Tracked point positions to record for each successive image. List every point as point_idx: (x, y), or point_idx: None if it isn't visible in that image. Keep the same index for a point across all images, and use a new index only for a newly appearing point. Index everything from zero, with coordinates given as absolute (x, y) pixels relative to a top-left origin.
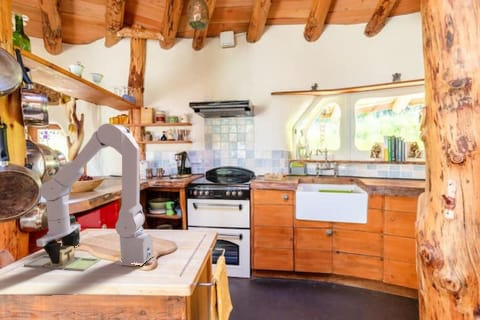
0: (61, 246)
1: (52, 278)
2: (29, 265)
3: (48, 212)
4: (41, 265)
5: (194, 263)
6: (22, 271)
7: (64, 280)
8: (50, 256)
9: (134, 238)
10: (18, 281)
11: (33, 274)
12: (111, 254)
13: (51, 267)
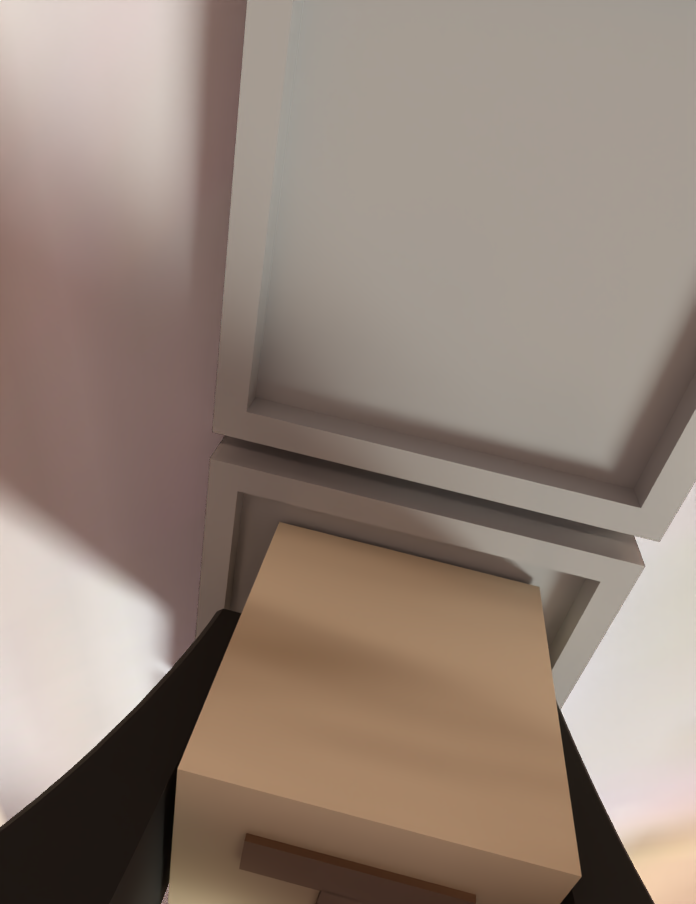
0: (502, 885)
1: (14, 662)
2: (244, 69)
3: None
4: (224, 404)
5: None
6: (86, 31)
7: (14, 763)
8: (145, 723)
9: None
10: None
11: (36, 380)
12: None
13: (205, 573)
